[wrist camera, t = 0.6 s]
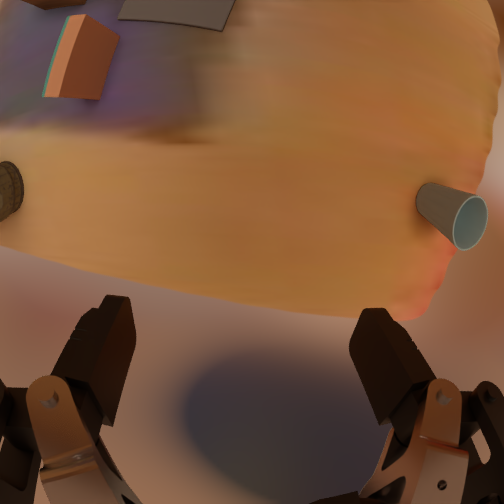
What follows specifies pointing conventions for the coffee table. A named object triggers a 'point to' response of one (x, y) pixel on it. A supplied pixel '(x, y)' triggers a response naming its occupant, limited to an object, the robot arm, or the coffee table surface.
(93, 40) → the tile
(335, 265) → the coffee table surface
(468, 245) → the cup
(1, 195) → the olive canister
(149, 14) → the rest mat
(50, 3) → the tall wooden block
